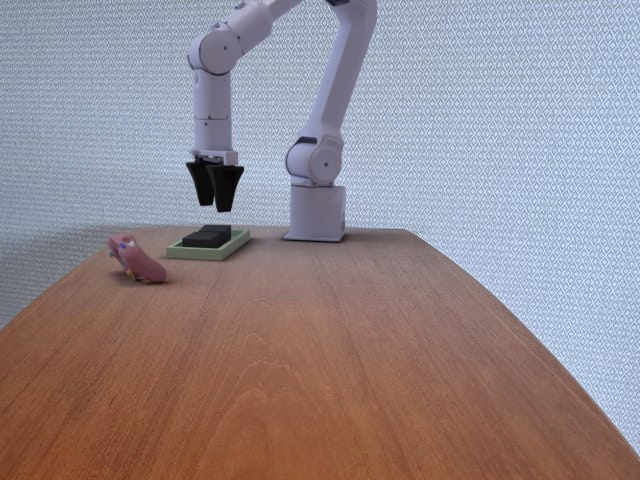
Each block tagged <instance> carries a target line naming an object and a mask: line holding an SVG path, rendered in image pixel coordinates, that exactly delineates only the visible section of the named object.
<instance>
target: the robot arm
mask: <svg viewBox="0 0 640 480" xmlns="http://www.w3.org/2000/svg"><path fill="white" fill-rule="evenodd" d="M304 1H305V0H262V1H261V2H260V1H257V0H247V1H246V2H245V1H244V0H240V1H238V2H237V3H235V4H234V6H233V9H234V11H233V12H232V13H230V14H229V15H227V16H226V17H225V18H223V19H222V20H221V21H219V22H218V21H214V22H213V23H211V24H210V25H209V28H210V31H209V32H207V33H205V34H200V35H198V36H196V37H195V38H194V39H193V40H192V41H191V43H190V47H189V48H188V53H187V54H186V61H187V65H188V66H189V68H190V69H191V71H192V73H193V74H192V75H193V113H194V117H193V119H194V146H191V149H188V150H187V151H188V152H187V154H188V155H191V158H192V160H193V161H186V162H185V166H186V168H187V171H188V172H189V175H190V177H191V178H192V182H193V185H194V189H195V192H196V196H197V200H198V204H199V206H200V207H211V206H212V207H213V206H214V204H215V208H216V212H217V213H219V214H221V213H231V212H232V209H233V205H234V200H235V195H236V192H237V188H238V185H239V182H240V180H241V177H242V176H243V174H244V172H245V166H243V165H239V151H236V150H235V149H233V130H232V129H233V128H232V127H233V126H232V125H233V124H232V123H233V122H232V72H231V71H233V70H234V68H235V67H236V65H237V62H238V60H240V59H241V58H243V57H244V56H245V55H247V54H248V53H249V52H251V51H252V50H253V49H254V48H256V47H257V46H258V45H260V44H261V43H262V42H264V41H265V40H266V39H267V38H269V37H270V36H271V34H272V33H273V32H272V31H273V26H274V22H276V21H277V20H278V19H280V18H281V17H282V16H283V15H286V14H287V13H288V12H290V11H291V10H293V9H294V8H295V7H296V6H299V4H301V3H302V2H304ZM323 1H324V2H325V4H327V6H328V7H329V9H330V10H331V11H333V12H334V14H335V16H336V18H337V20H338V22H339V28H338V30H337V33H336V36H335V40H334V43H333V45H332V48H331V52H330V55H329V58H328V60H327V63H326V67H325V70H324V73H323V76H322V79H321V82H320V85H319V88H318V91H317V95H316V97H315V101H314V103H313V107H312V109H311V113H310V115H309V117H308V118H309V119H308V121H307V122H306V123H305V124H304V125H303V126H302V128H301V129H300V130H299V131H298V132H297V134H296V138H295V140H294V142H293V143H292V144H291V145H289V147H288V149H287V150H286V152H285V155H284V167H285V171H286V172H287V174H288V175H289V176H290V196H289V197H290V201H289V231H288V232H287V233H286V234H285V235H284V236H283V239H284V240H292V241H293V240H294V241H317V242H335V243H336V242H337V243H338V242H340V241H341V240H342V238H343V236H344V235H345V230H346V205H347V204H346V203H347V202H346V201H347V188H346V186H345V185H335V180H336V179H337V178H338V177H339V175H340V173H341V171H342V167H343V159H342V154H343V149H344V146H345V140H344V138H343V135H342V133H341V128H342V125H343V123H344V120H345V116H346V114H347V112H348V111H347V110H348V107H349V104H350V101H351V98H352V96H353V93H354V89H355V87H356V84H357V81H358V78H359V76H360V72H361V69H362V66H363V63H364V60H365V58H366V55H367V51H368V49H369V46H370V43H371V40H372V38H373V35H374V31H375V29H376V26H377V21H378V0H323Z"/></svg>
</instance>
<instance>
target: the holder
mask: <svg viewBox="0 0 640 480" xmlns="http://www.w3.org/2000/svg"><path fill="white" fill-rule="evenodd" d="M200 229H201V228H199V229H197V230H196V231H194V232H198V231H199V230H200ZM249 241H251V230H250V229H240V228H231V240H230V241H229V242H227V243H226V244H224V245H223V246H221V247H220V248H218V249H212V248H191V247H182V238H181V239H179V240H177V241H175V242H173V243H171V244H169V245H168V246H166V247H165V251H166V259H182V260H199V261H200V260H202V261H217V262H218V261H223V260H224V259H225V258H227V257H228V256H230V255H231V254H232V253H234V252H235V251H236V250H238V249H239V248H240V247H242V246H243V245H244V244H246V243H248V242H249Z"/></svg>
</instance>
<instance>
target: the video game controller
mask: <svg viewBox="0 0 640 480" xmlns="http://www.w3.org/2000/svg"><path fill="white" fill-rule="evenodd" d="M106 243H107V246H108V250H106V253H107V256H108V257H109V258H111V259H113V258H115V259H116V260H117V262H119V264H120V265H121V267H122V269H124V271H125V272H126V275H127V276H128V277H131V278H132V279H133V280H134V281H136V280H138V279H140V278H141V277H142V278H144V279H146V280H148V281H150V282H154V283H163V282H164V281H166V278H167V270H166V269H165V267H164V266H163V265H162V264H161V263H160V262H158V261H157V260H155V259H153V258H152V257H150V256H149V255H148V254H147V253H146V252H145V251H144V250H143V248H142V247H141V246H140V245H139V243H137V240H136V238H135V237H134V236H133V235H131V234H129V233H123V232H122V233H121V232H120V233H116V234H114V235H112V236H110V237H109V239H108V240H107V241H106Z"/></svg>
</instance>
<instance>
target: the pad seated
mask: <svg viewBox="0 0 640 480" xmlns="http://www.w3.org/2000/svg"><path fill="white" fill-rule="evenodd" d="M181 239H182V247H191V248H212V249H218V248H220V247H221V246H222V244H221V233H217V232H195V231H193V232H192V233H189V234H187V235H186V236H184V237H182V238H181Z"/></svg>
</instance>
